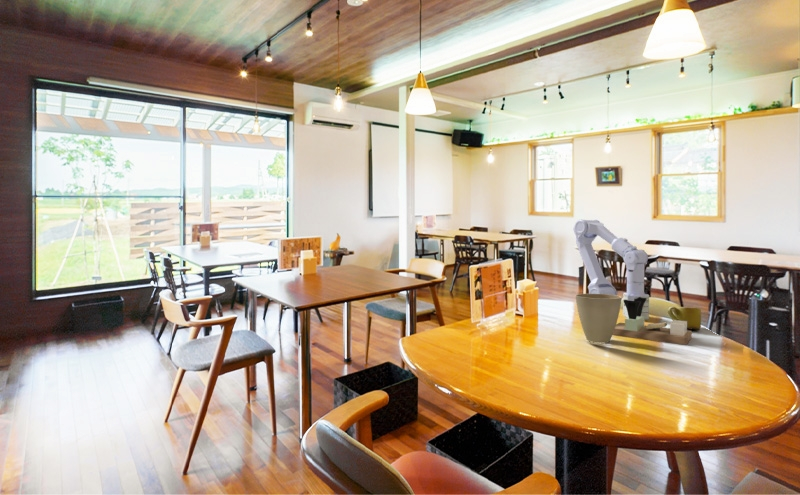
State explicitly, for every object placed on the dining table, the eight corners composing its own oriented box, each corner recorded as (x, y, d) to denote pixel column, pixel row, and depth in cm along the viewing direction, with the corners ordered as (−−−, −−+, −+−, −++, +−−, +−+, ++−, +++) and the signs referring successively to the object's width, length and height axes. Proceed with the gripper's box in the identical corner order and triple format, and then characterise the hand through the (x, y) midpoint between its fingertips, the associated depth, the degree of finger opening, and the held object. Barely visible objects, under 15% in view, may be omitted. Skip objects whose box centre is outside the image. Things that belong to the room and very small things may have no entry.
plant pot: (620, 338, 156) (620, 294, 156) (622, 347, 143) (622, 299, 142) (575, 334, 162) (576, 292, 162) (573, 342, 149) (574, 297, 148)
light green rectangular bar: (624, 329, 159) (625, 319, 159) (632, 324, 168) (632, 314, 168) (636, 331, 156) (637, 320, 156) (644, 326, 165) (644, 315, 165)
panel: (610, 334, 162) (610, 323, 162) (619, 328, 173) (619, 318, 173) (686, 344, 147) (686, 332, 146) (691, 337, 157) (691, 326, 157)
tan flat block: (646, 329, 158) (645, 326, 158) (649, 326, 162) (648, 324, 162) (664, 327, 154) (664, 324, 155) (667, 324, 158) (666, 322, 158)
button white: (670, 334, 151) (670, 323, 151) (673, 330, 157) (673, 319, 157) (683, 336, 149) (683, 324, 149) (686, 332, 155) (687, 321, 155)
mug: (692, 328, 173) (692, 303, 173) (707, 334, 163) (708, 308, 163) (660, 327, 175) (660, 303, 174) (673, 333, 164) (674, 307, 164)
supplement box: (622, 321, 188) (622, 292, 188) (637, 321, 189) (638, 292, 189) (633, 324, 181) (633, 294, 181) (649, 324, 182) (649, 294, 182)
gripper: (643, 284, 154) (642, 322, 154) (651, 281, 165) (650, 316, 165) (621, 282, 158) (621, 319, 158) (631, 280, 169) (630, 314, 169)
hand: (634, 317), depth 162 cm, fingers open, 7 cm apart
